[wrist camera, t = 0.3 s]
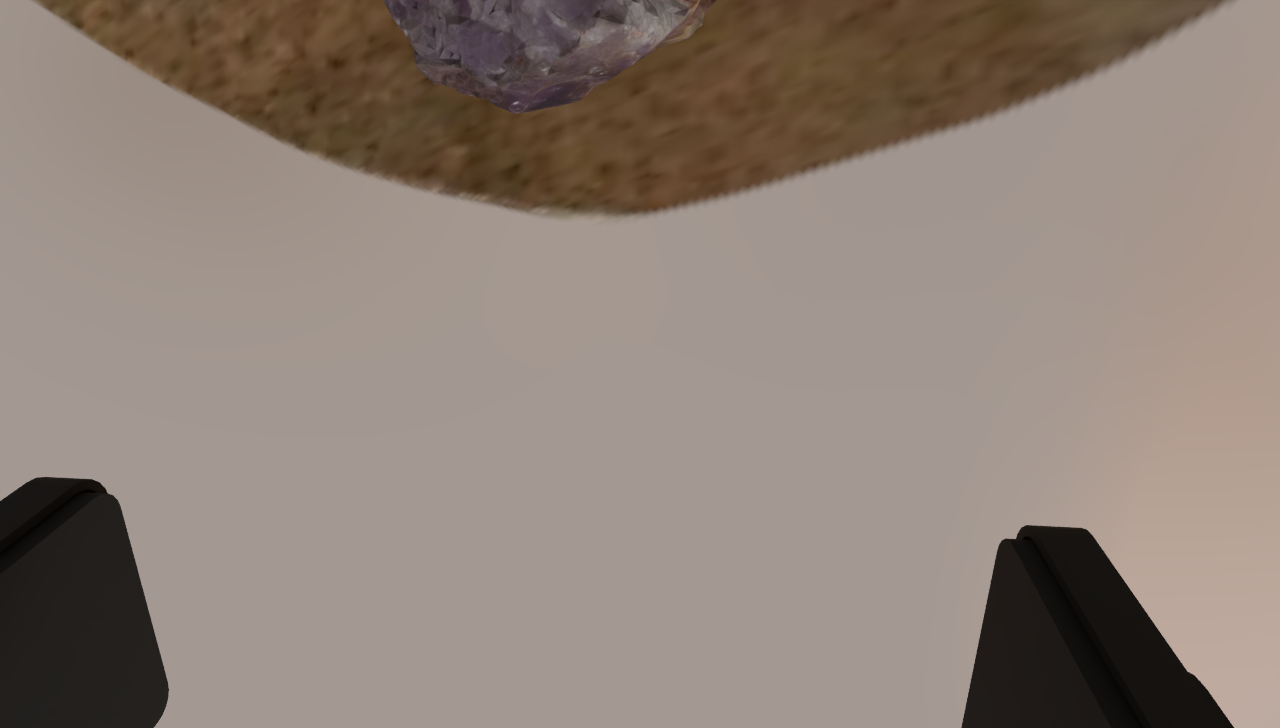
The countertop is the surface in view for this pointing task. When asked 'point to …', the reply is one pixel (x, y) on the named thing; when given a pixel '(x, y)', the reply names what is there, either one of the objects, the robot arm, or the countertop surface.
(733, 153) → the countertop surface
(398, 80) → the countertop surface
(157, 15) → the countertop surface
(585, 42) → the rock
